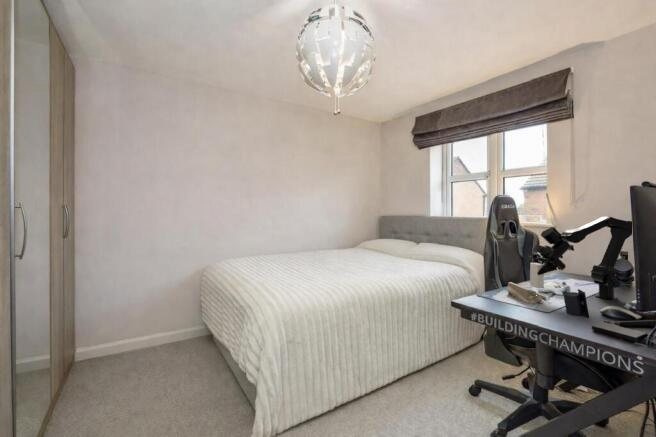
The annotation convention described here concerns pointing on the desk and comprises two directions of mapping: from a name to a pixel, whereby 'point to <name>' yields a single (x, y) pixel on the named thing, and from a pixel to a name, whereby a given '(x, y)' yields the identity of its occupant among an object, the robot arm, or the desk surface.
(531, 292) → the offcut stack
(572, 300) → the speaker
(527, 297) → the rack
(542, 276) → the cream rectangular block
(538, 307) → the desk surface
